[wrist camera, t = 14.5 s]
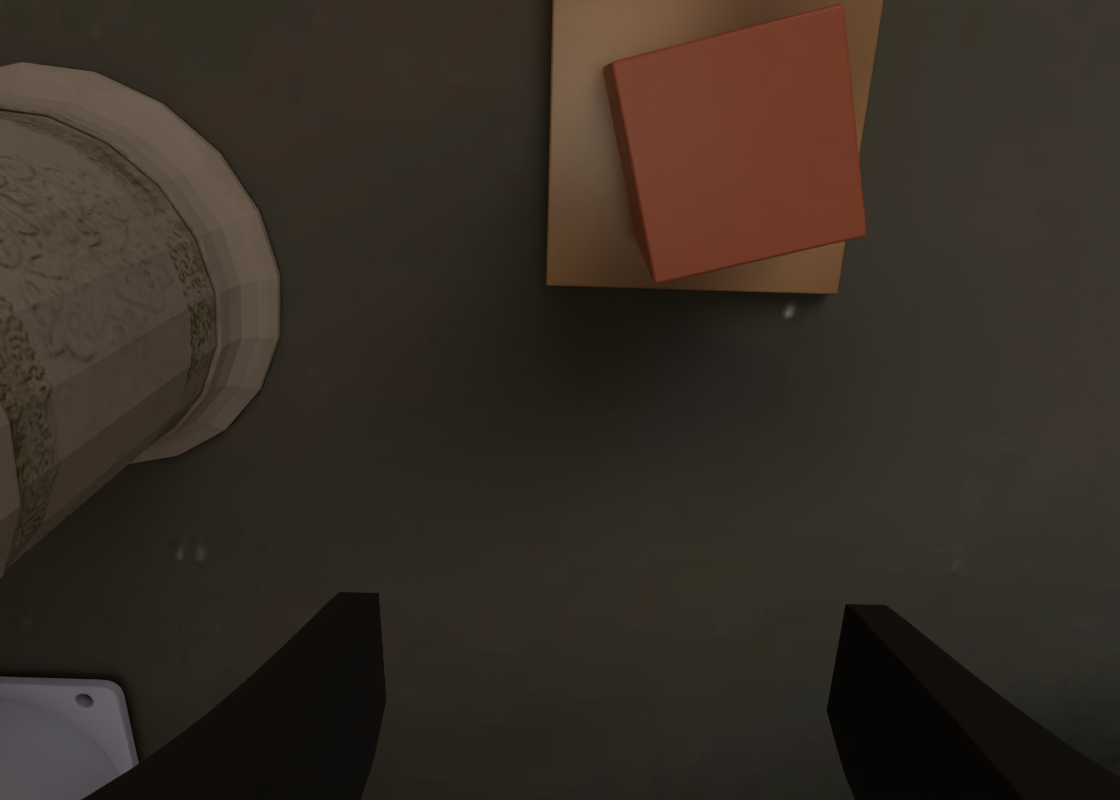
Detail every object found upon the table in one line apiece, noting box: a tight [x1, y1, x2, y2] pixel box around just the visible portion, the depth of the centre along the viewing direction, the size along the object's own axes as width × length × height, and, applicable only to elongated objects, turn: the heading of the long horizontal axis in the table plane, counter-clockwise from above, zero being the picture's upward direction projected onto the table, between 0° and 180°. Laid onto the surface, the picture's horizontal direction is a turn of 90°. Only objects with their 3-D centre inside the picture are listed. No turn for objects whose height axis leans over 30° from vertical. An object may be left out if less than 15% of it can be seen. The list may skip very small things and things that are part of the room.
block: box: [603, 4, 866, 284], centre depth 16 cm, size 4×4×4 cm
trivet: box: [546, 0, 884, 294], centre depth 18 cm, size 7×7×1 cm
